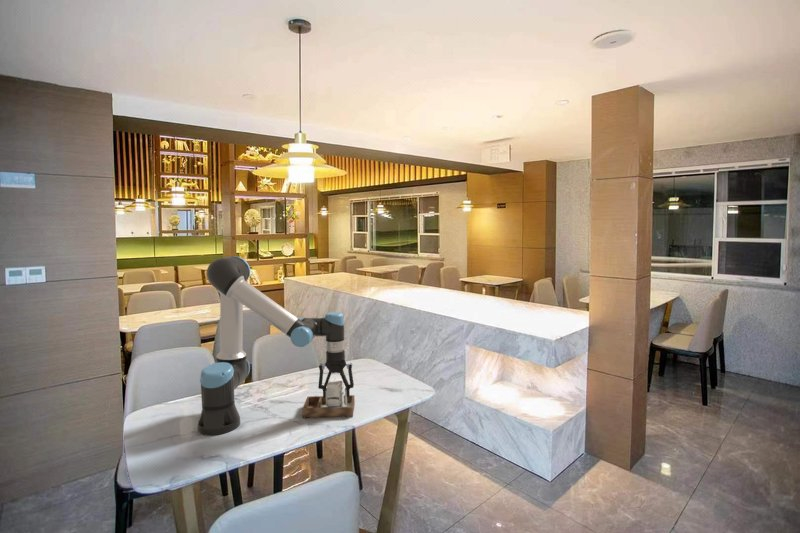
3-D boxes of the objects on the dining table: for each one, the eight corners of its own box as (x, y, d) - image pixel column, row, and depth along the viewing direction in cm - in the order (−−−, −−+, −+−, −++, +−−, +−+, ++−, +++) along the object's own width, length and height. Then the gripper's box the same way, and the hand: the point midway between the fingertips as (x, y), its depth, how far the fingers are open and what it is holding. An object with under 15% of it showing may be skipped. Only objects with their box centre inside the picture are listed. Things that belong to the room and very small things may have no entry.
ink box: (339, 413, 177) (338, 384, 176) (327, 412, 178) (326, 384, 177) (344, 404, 186) (344, 377, 185) (333, 404, 187) (332, 377, 186)
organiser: (302, 418, 175) (302, 408, 175) (307, 405, 188) (307, 396, 188) (352, 417, 176) (352, 407, 176) (354, 404, 189) (354, 395, 189)
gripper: (309, 353, 176) (311, 408, 178) (359, 352, 177) (360, 407, 179) (312, 348, 183) (313, 401, 185) (360, 347, 184) (361, 400, 186)
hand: (336, 404), depth 182 cm, fingers open, 7 cm apart
